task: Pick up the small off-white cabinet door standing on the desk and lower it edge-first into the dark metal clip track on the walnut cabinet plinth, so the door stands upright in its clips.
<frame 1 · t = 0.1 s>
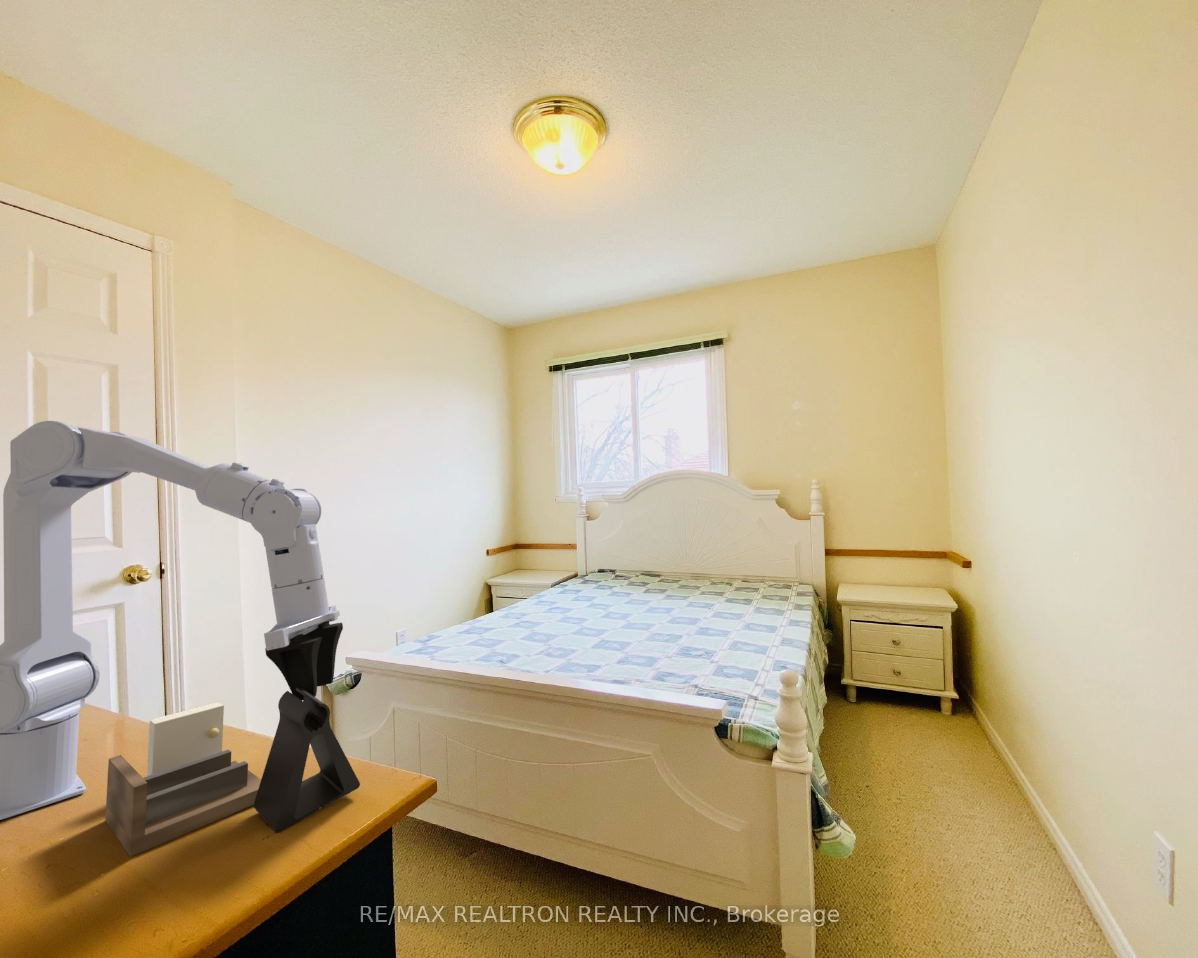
hand: (315, 691, 62), 11 cm above the table, tool pointing down, fingers open, 4 cm apart
cabinet door: (185, 777, 63), on the table
phone stand: (308, 799, 57), point 1 cm above the table, touching gripper
cabinet plinth: (189, 808, 56), on the table
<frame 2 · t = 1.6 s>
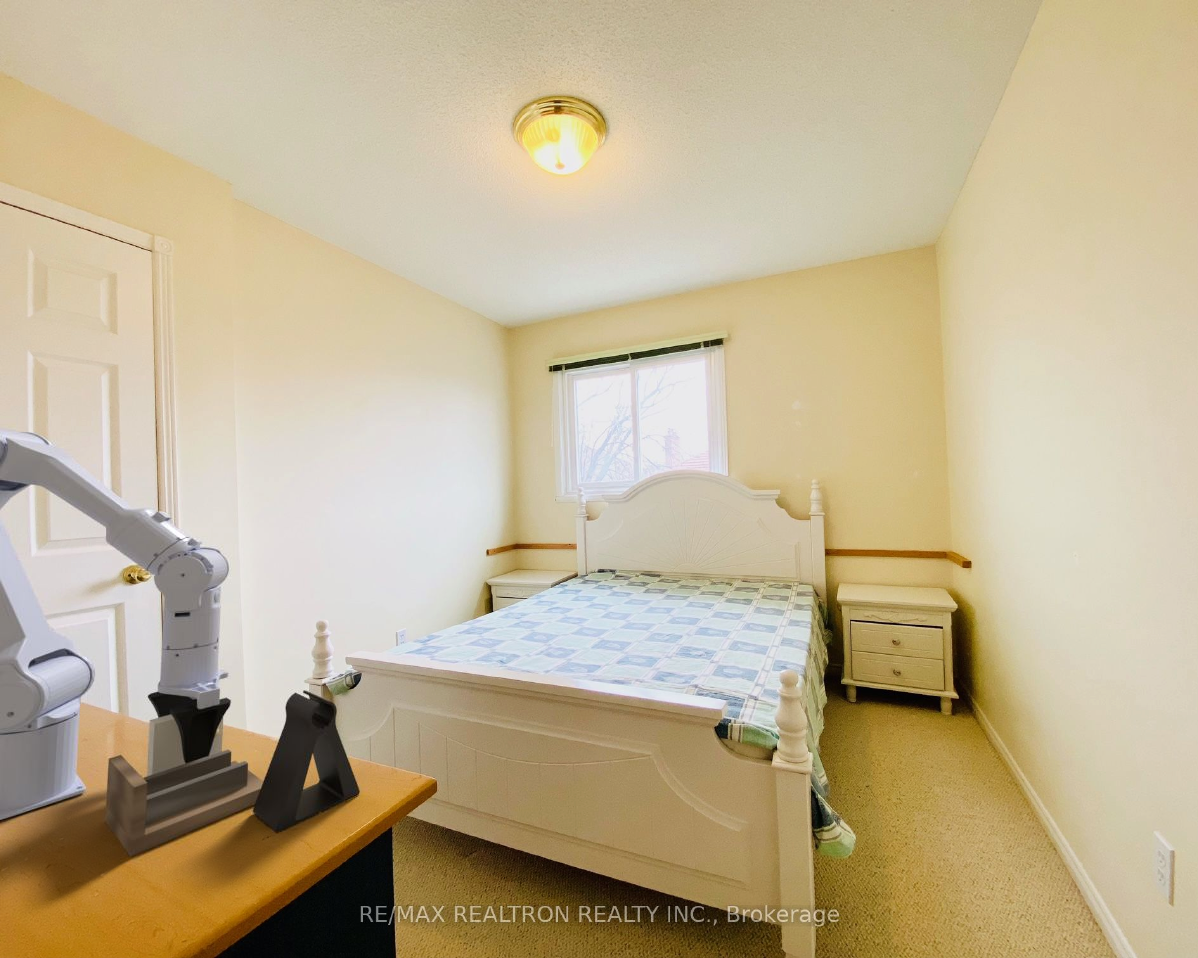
hand: (186, 753, 63), 3 cm above the table, tool pointing down, fingers open, 7 cm apart
phone stand: (307, 805, 57), on the table
everything else where it was.
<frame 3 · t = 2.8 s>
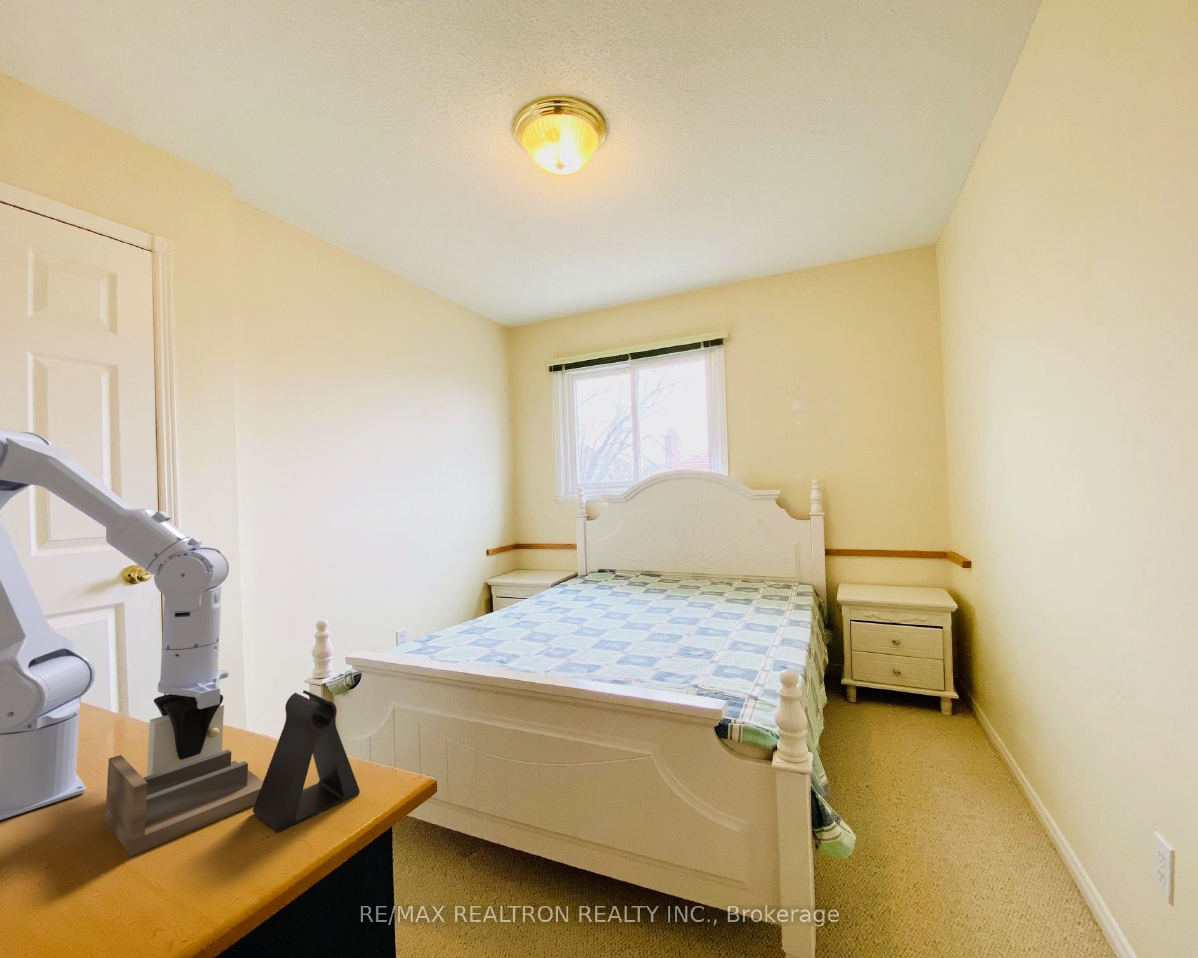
hand: (186, 753, 63), 3 cm above the table, tool pointing down, fingers closed on cabinet door, 2 cm apart
cabinet door: (185, 777, 63), on the table, touching gripper
everything else where it was.
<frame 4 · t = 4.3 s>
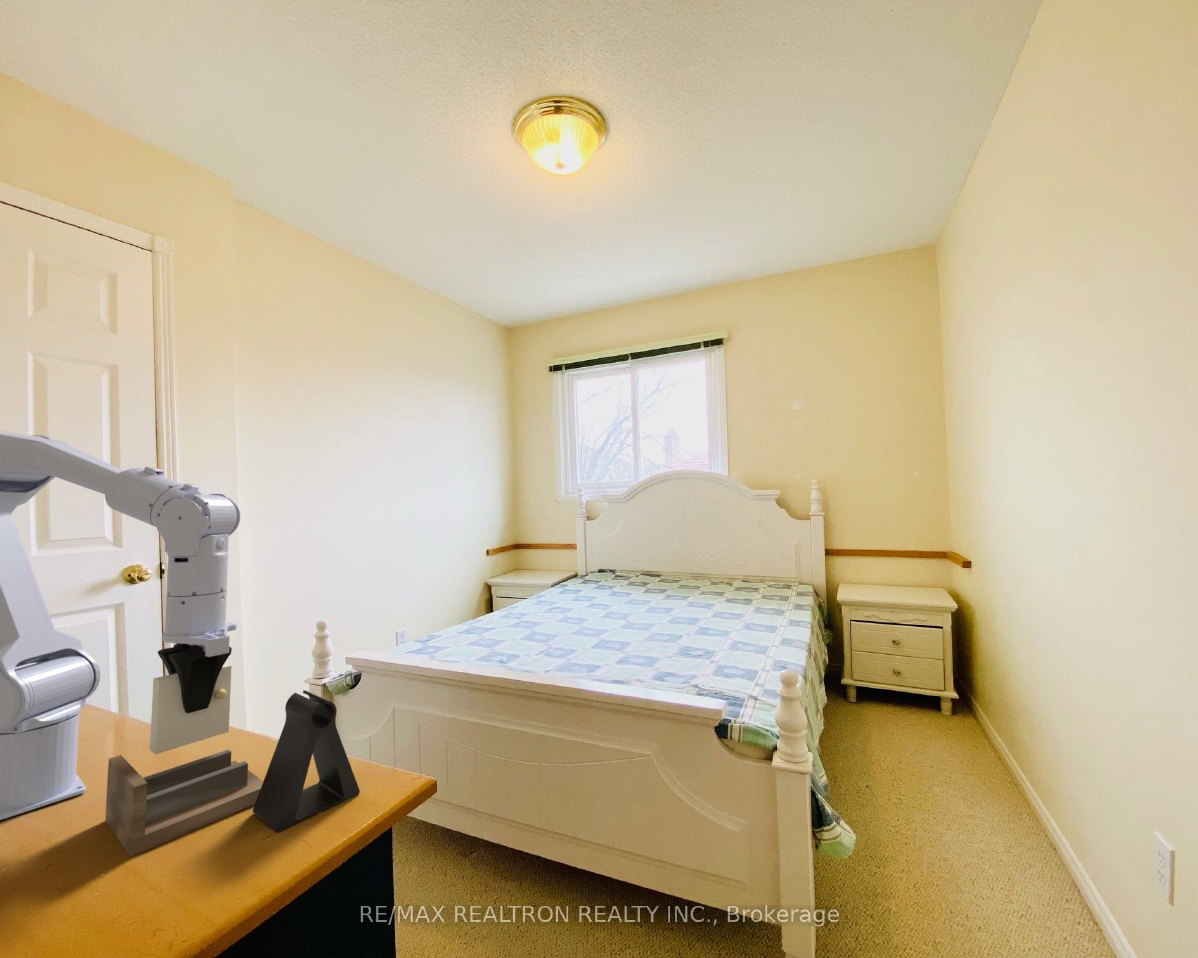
hand: (192, 707, 60), 10 cm above the table, tool pointing down, fingers closed on cabinet door
cabinet door: (190, 740, 60), point 6 cm above the table, touching gripper
everything else where it was.
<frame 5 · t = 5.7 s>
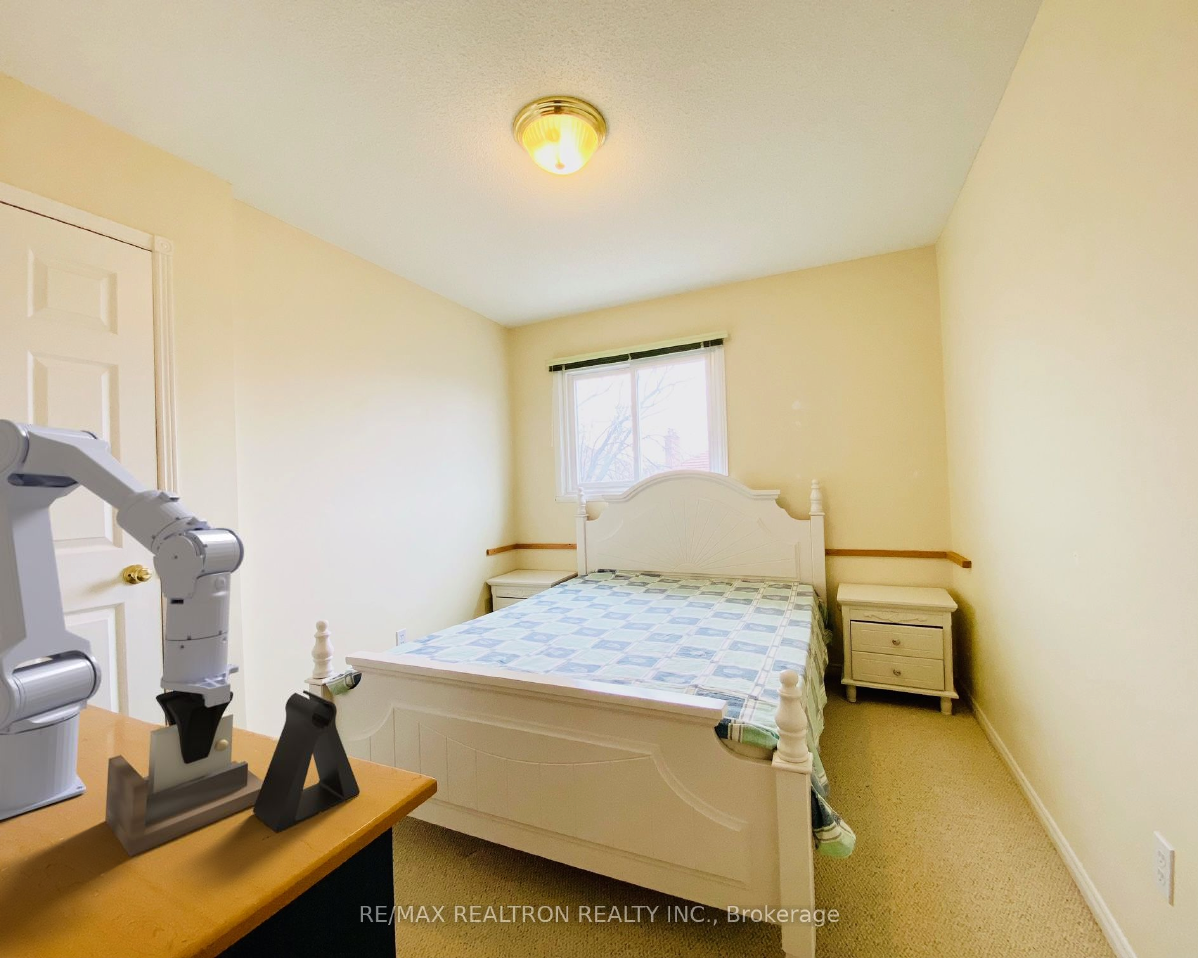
hand: (192, 756, 57), 6 cm above the table, tool pointing down, fingers closed on cabinet door, 2 cm apart
cabinet door: (190, 795, 56), point 1 cm above the table, touching cabinet plinth, gripper
everything else where it was.
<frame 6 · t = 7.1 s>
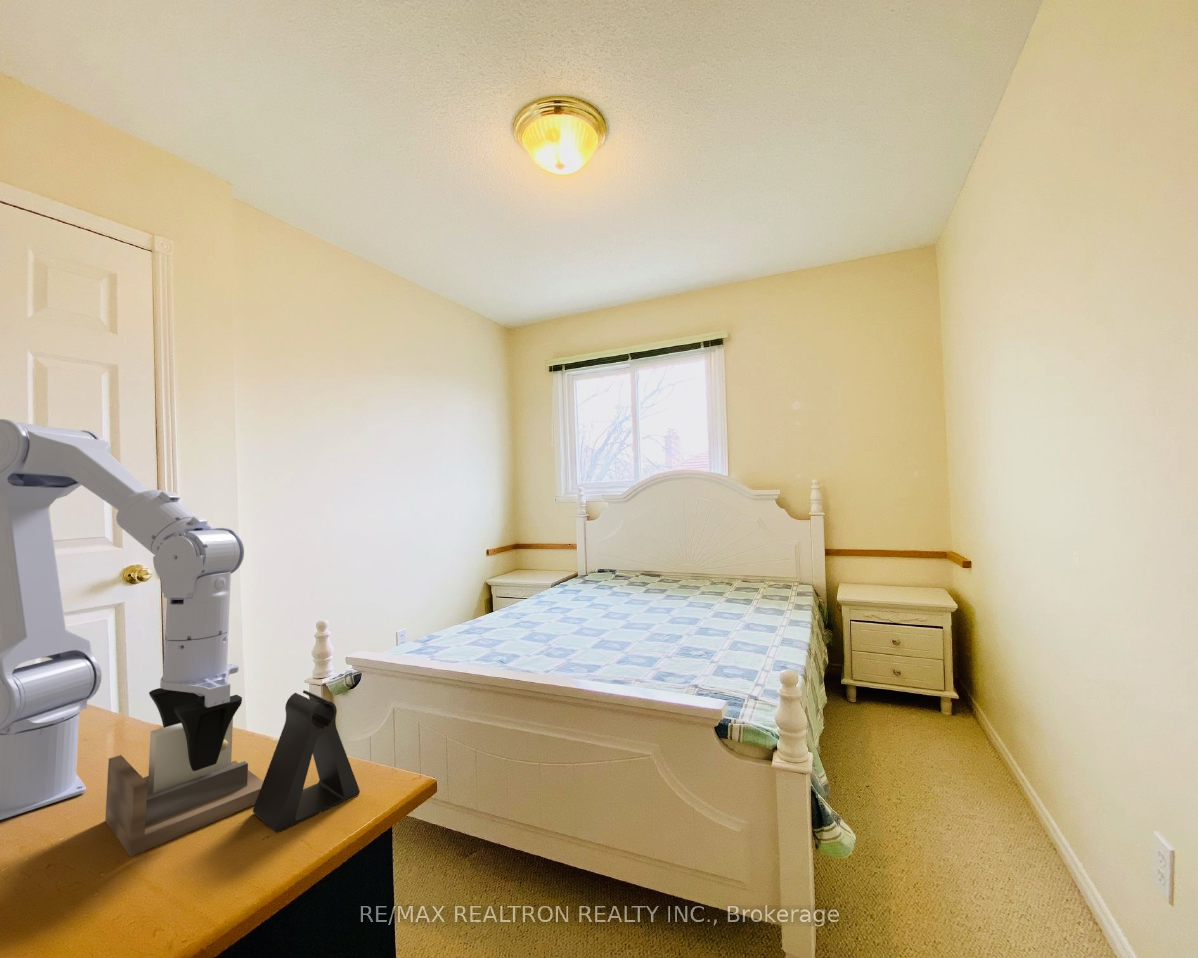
hand: (192, 756, 57), 6 cm above the table, tool pointing down, fingers open, 7 cm apart
cabinet door: (190, 795, 56), point 1 cm above the table, touching cabinet plinth
everything else where it was.
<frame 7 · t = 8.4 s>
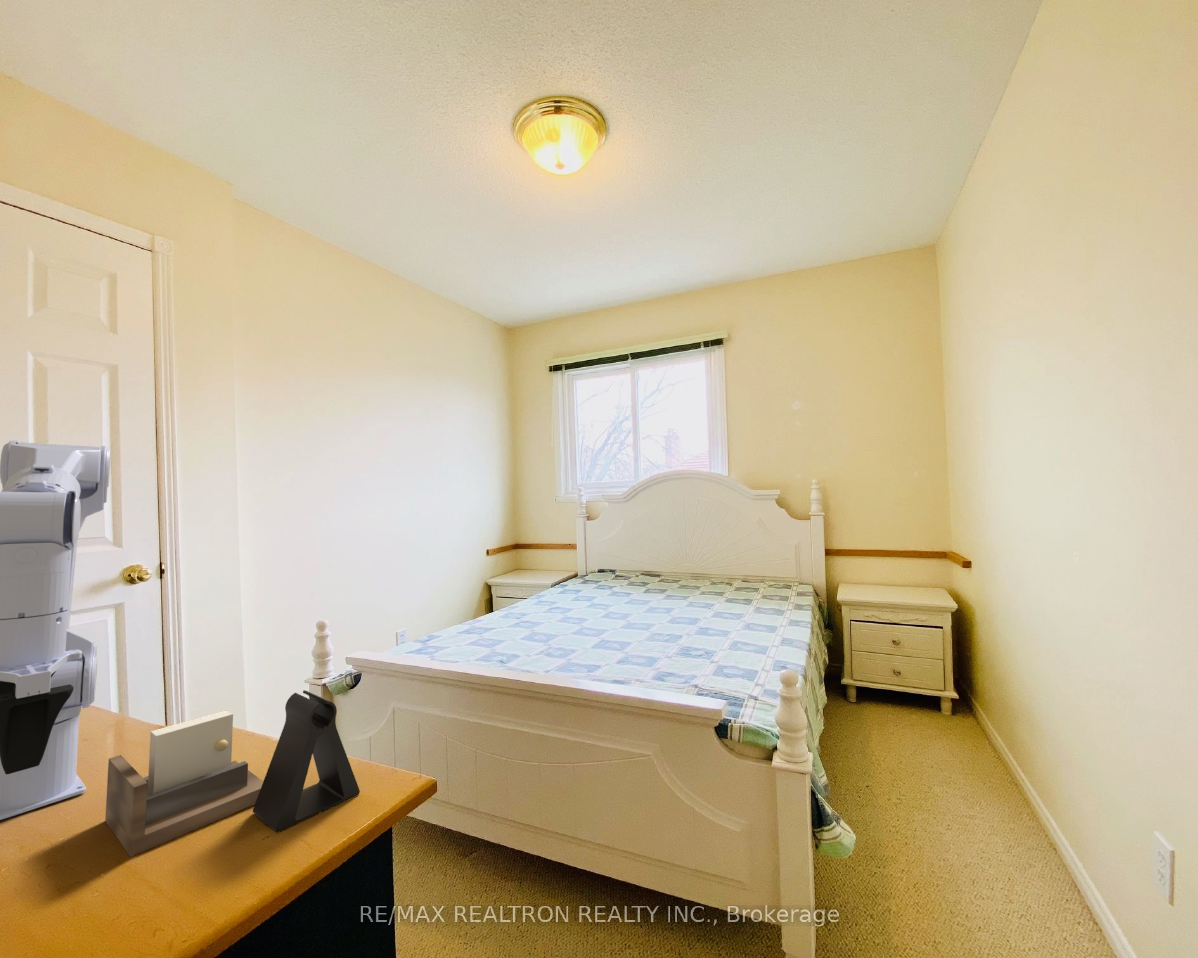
hand: (16, 757, 48), 10 cm above the table, tool pointing down, fingers open, 7 cm apart
nothing on the table moved.
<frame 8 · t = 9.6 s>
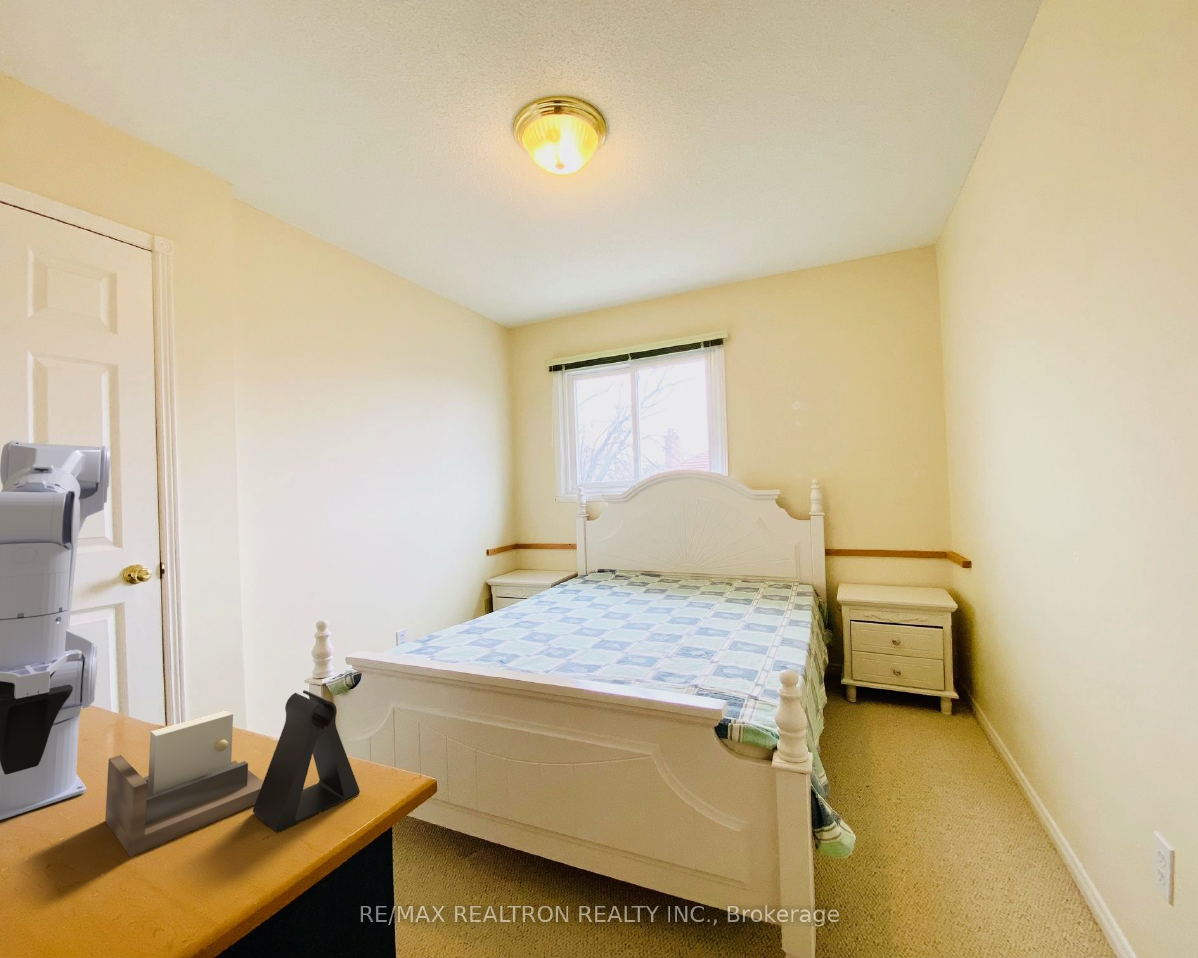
hand: (15, 757, 48), 10 cm above the table, tool pointing down, fingers open, 7 cm apart
nothing on the table moved.
at the end: cabinet door 0.0 cm off-centre on the cabinet plinth, point 1.5 cm above the cabinet plinth's base; cabinet door tilted 0°; the gripper is holding nothing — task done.
